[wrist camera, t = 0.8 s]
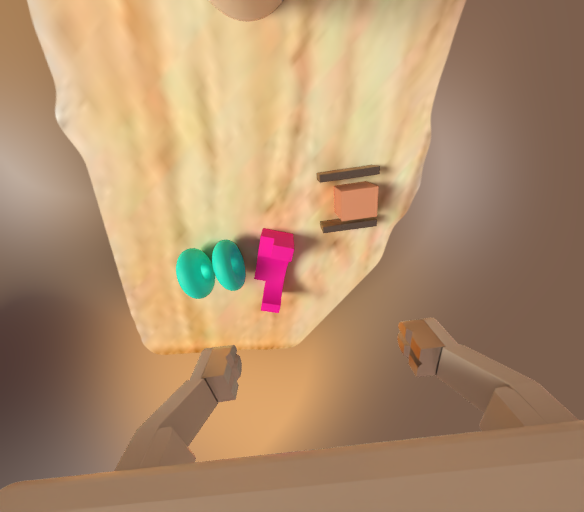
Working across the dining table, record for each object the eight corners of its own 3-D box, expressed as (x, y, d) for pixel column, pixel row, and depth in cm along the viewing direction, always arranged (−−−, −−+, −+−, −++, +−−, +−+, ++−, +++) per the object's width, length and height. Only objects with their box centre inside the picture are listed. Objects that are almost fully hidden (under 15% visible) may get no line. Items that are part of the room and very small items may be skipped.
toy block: (263, 227, 42) (258, 242, 36) (293, 233, 43) (294, 249, 36) (253, 286, 49) (248, 308, 42) (279, 291, 50) (278, 313, 43)
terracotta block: (333, 185, 39) (341, 191, 34) (365, 181, 39) (378, 186, 33) (334, 211, 41) (341, 221, 36) (364, 207, 41) (376, 216, 36)
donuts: (250, 271, 47) (242, 299, 38) (209, 281, 48) (191, 311, 39) (233, 230, 42) (220, 252, 33) (188, 242, 43) (163, 266, 34)
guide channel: (316, 172, 38) (319, 175, 35) (371, 164, 37) (379, 166, 34) (320, 227, 42) (323, 233, 39) (369, 220, 42) (376, 225, 39)
